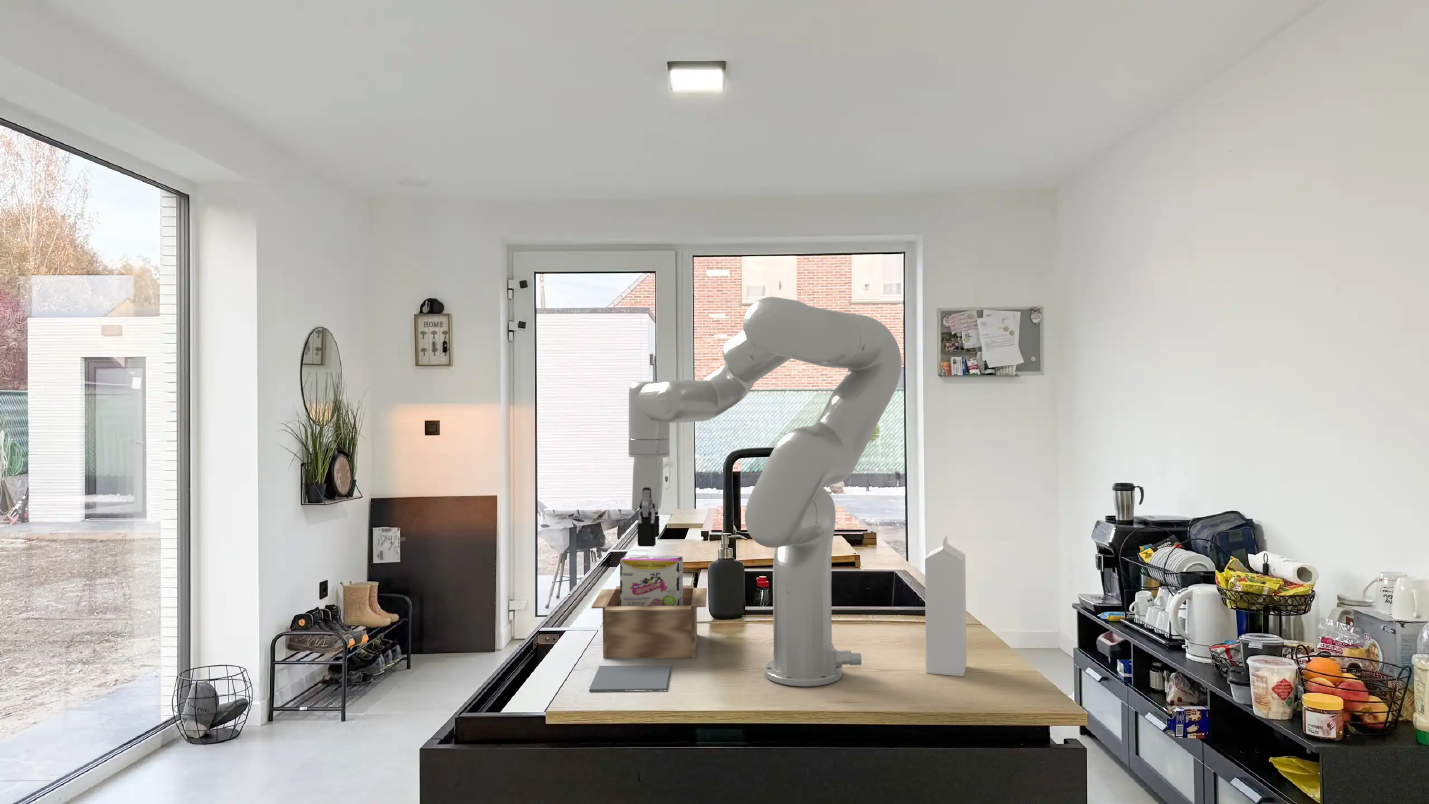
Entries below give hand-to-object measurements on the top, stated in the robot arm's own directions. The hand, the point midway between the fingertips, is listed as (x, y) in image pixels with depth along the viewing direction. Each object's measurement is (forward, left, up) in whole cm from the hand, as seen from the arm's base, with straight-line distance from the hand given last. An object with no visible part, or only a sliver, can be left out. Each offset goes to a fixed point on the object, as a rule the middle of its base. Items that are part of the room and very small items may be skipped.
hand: (648, 541), depth 162 cm
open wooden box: (0, 0, -19) cm, 19 cm away
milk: (-50, +16, -20) cm, 56 cm away
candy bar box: (0, 0, -20) cm, 20 cm away
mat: (+2, +19, -19) cm, 27 cm away
